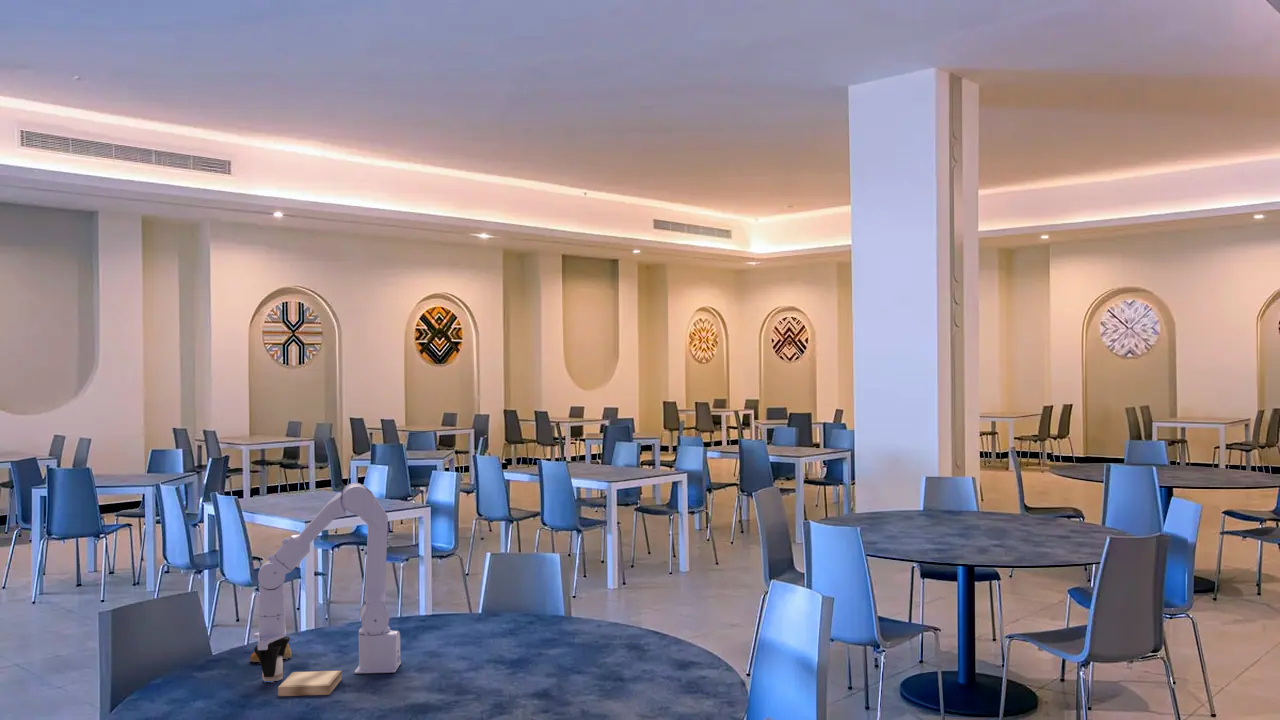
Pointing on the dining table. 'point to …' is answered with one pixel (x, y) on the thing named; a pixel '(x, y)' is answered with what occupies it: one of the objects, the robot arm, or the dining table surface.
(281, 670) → the pot
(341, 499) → the robot arm
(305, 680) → the base board
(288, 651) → the pastry
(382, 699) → the dining table surface
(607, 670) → the dining table surface
